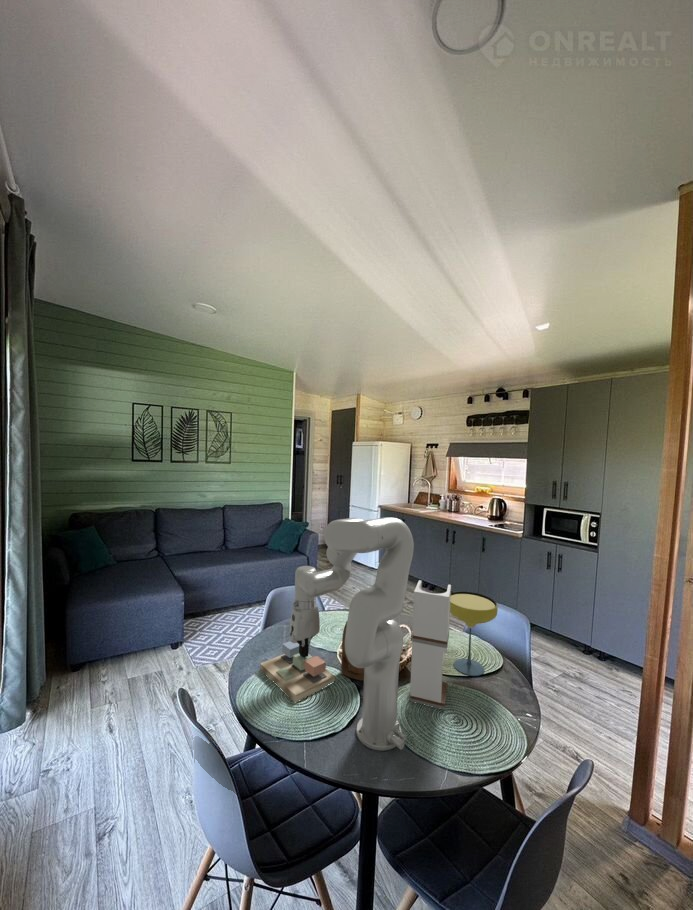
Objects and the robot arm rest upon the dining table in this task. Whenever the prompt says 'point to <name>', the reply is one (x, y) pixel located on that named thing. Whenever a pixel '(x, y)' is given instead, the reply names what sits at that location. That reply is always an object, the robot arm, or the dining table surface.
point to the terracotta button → (315, 666)
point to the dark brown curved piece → (346, 665)
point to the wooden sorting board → (294, 677)
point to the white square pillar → (429, 646)
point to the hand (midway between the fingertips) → (303, 655)
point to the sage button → (300, 661)
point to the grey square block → (290, 649)
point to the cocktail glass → (471, 622)
